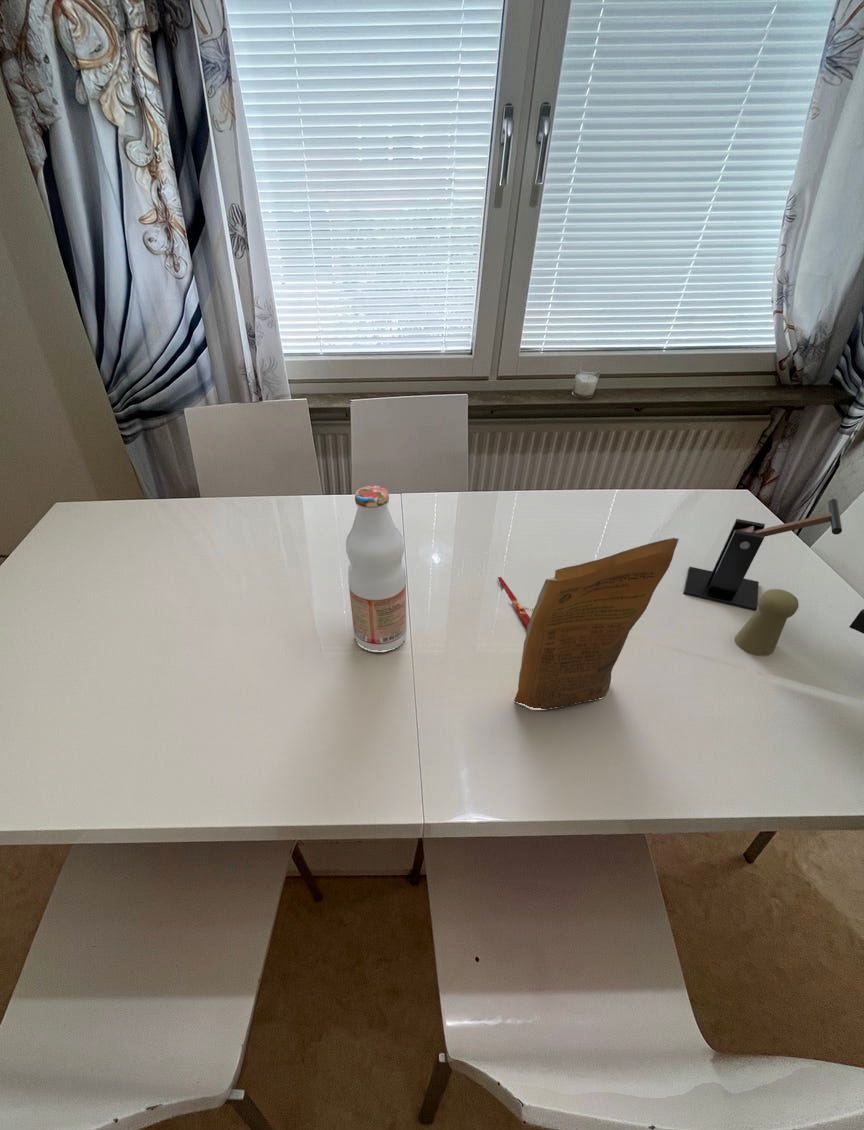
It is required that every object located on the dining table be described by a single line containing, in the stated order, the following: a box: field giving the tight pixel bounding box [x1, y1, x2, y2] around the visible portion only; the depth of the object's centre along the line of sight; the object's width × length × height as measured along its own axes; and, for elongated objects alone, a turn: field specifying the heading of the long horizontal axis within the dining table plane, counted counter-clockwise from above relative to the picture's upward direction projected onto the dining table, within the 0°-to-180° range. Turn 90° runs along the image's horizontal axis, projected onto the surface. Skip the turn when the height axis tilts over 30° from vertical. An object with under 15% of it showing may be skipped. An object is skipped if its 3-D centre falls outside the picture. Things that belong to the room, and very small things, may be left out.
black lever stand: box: [683, 518, 766, 612], centre depth 96 cm, size 12×9×14 cm
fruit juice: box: [345, 485, 408, 651], centre depth 86 cm, size 9×9×28 cm
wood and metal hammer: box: [739, 498, 843, 538], centre depth 89 cm, size 14×10×2 cm
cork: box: [734, 588, 800, 657], centre depth 86 cm, size 6×6×11 cm
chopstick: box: [497, 576, 531, 629], centre depth 97 cm, size 2×24×1 cm, turn 13°
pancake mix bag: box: [513, 537, 680, 709], centre depth 74 cm, size 7×19×28 cm, turn 102°
